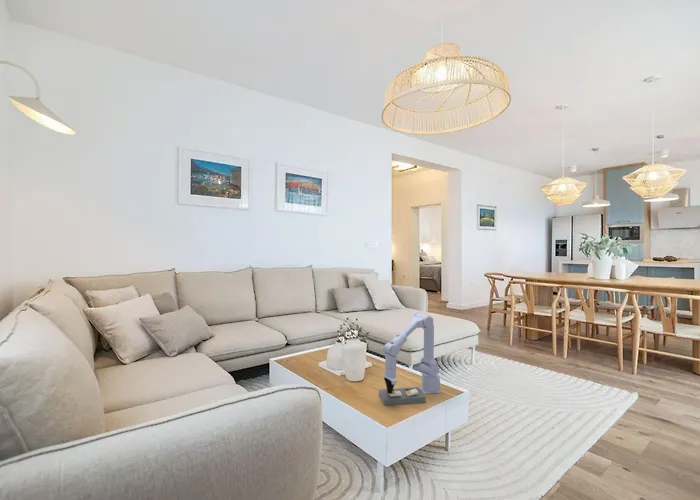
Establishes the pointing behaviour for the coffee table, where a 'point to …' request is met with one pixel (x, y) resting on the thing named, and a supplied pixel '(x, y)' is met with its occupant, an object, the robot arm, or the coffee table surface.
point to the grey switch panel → (401, 397)
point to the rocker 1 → (395, 393)
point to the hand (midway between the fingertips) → (389, 392)
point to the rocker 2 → (411, 392)
